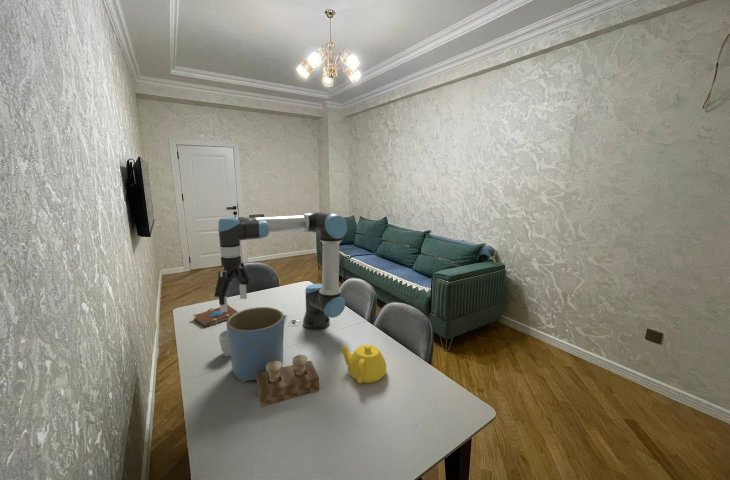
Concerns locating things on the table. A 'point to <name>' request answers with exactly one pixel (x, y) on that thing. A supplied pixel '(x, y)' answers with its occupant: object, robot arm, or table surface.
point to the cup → (224, 343)
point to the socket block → (287, 384)
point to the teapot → (365, 363)
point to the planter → (255, 340)
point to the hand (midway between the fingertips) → (234, 304)
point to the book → (214, 316)
